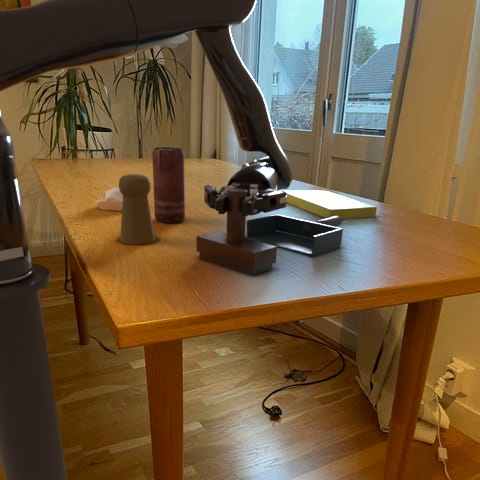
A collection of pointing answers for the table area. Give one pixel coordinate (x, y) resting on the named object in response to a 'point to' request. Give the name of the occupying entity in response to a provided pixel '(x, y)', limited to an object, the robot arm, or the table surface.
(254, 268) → the stamp
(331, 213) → the yellow foam board
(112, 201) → the pale pink lumpy piece
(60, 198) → the table surface
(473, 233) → the table surface
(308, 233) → the dustpan
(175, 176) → the can
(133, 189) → the cork
